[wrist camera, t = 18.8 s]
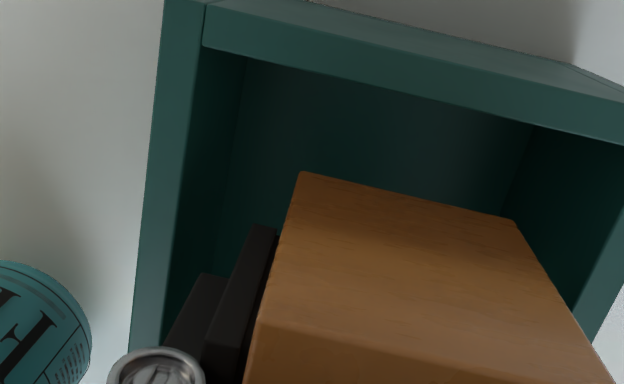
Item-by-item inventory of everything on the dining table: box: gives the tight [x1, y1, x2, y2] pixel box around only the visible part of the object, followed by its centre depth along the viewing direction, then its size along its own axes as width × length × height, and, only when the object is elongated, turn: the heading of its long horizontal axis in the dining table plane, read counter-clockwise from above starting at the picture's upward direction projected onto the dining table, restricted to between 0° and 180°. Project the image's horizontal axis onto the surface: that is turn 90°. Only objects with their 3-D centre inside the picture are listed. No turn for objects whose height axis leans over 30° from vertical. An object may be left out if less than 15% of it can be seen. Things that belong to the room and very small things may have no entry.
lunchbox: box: [128, 0, 624, 353], centre depth 16 cm, size 14×11×7 cm
